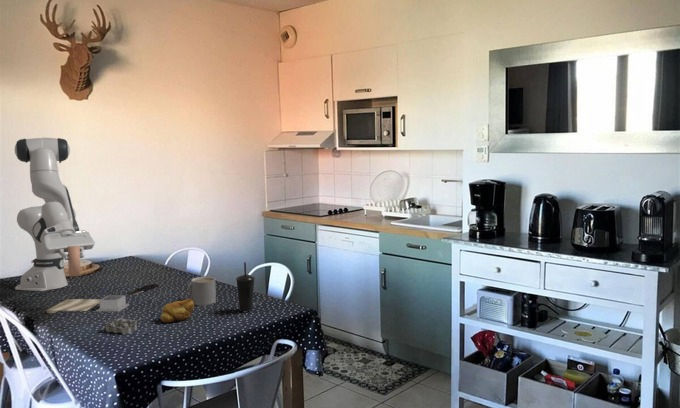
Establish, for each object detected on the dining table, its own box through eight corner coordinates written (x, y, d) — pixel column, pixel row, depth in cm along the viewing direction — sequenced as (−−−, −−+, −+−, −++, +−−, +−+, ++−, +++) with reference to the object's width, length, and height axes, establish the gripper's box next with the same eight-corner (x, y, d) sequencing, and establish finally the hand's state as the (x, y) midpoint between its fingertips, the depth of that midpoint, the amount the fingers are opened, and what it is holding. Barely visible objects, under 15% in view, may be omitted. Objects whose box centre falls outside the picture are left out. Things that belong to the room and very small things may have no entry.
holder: (95, 313, 223) (94, 301, 222) (106, 306, 232) (106, 294, 232) (119, 313, 222) (119, 301, 222) (130, 306, 232) (129, 294, 232)
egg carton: (102, 332, 201) (102, 321, 201) (118, 325, 208) (117, 315, 208) (125, 335, 197) (124, 324, 197) (140, 329, 204) (140, 318, 203)
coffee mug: (220, 302, 238) (219, 279, 237) (200, 307, 231) (199, 283, 230) (203, 296, 247) (202, 274, 246) (183, 301, 240) (182, 278, 239)
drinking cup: (259, 308, 227) (257, 261, 225) (250, 314, 220) (248, 264, 218) (242, 307, 230) (241, 259, 228) (233, 312, 223) (231, 263, 221)
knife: (120, 301, 242) (120, 298, 242) (109, 299, 245) (109, 296, 245) (162, 287, 264) (161, 284, 264) (151, 286, 267) (151, 283, 267)
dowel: (66, 276, 227) (65, 247, 226) (72, 274, 231) (71, 245, 230) (77, 276, 226) (76, 247, 225) (82, 274, 231) (81, 245, 230)
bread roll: (166, 326, 207) (165, 305, 206) (154, 320, 214) (153, 300, 213) (197, 318, 216) (196, 298, 215) (184, 313, 223) (183, 293, 222)
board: (46, 313, 223) (46, 310, 223) (67, 301, 239) (67, 299, 239) (85, 313, 223) (85, 310, 223) (104, 302, 239) (103, 299, 238)
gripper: (85, 234, 243) (96, 259, 237) (35, 239, 227) (47, 266, 222) (90, 225, 240) (101, 250, 234) (40, 230, 224) (51, 256, 218)
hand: (74, 258), depth 228 cm, fingers closed on dowel, 4 cm apart
